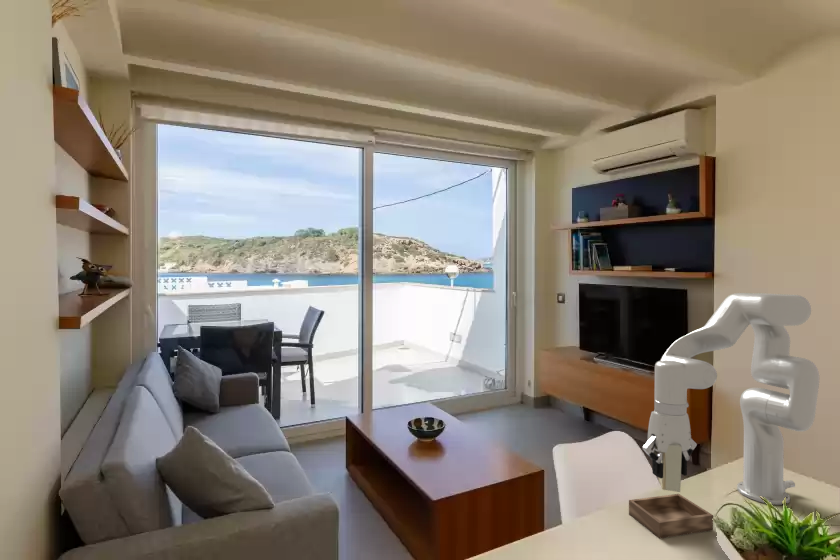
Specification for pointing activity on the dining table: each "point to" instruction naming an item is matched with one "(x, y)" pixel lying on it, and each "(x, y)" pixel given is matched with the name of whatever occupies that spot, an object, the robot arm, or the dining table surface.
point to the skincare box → (671, 468)
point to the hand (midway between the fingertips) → (669, 474)
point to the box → (670, 515)
